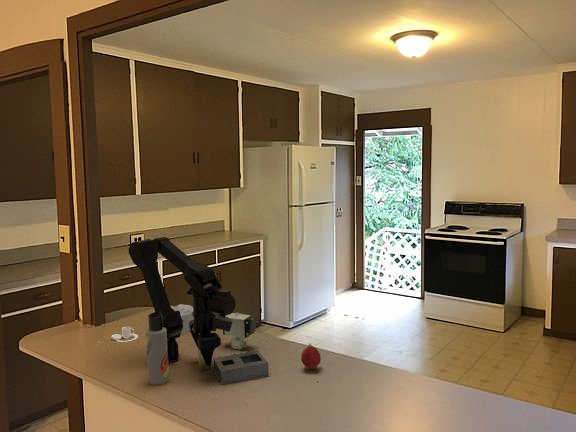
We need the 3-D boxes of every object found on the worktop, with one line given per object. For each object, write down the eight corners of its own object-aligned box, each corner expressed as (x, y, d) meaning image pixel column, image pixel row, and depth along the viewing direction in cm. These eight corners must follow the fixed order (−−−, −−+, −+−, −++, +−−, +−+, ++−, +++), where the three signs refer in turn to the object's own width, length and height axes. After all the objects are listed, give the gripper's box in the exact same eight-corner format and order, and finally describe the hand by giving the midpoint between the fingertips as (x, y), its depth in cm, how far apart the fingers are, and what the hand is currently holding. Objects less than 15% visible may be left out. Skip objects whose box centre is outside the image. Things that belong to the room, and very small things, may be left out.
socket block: (221, 384, 138) (220, 371, 138) (213, 370, 148) (213, 358, 147) (268, 375, 143) (268, 362, 143) (258, 362, 153) (257, 350, 152)
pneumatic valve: (250, 352, 161) (249, 316, 159) (220, 347, 166) (218, 313, 164) (258, 346, 166) (257, 311, 164) (228, 341, 171) (227, 308, 169)
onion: (323, 367, 148) (323, 341, 147) (316, 375, 143) (316, 348, 142) (305, 364, 151) (305, 339, 150) (298, 371, 146) (297, 345, 145)
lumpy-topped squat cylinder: (200, 325, 188) (199, 303, 187) (180, 337, 176) (179, 314, 175) (178, 322, 192) (176, 301, 191) (157, 334, 180) (155, 311, 179)
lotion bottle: (172, 377, 144) (169, 311, 141) (161, 386, 138) (157, 317, 136) (156, 375, 146) (152, 309, 143) (144, 383, 140) (140, 315, 138)
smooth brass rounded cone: (200, 373, 146) (199, 344, 145) (197, 368, 150) (196, 339, 149) (213, 370, 148) (212, 342, 147) (210, 365, 151) (209, 337, 150)
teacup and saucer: (108, 342, 174) (107, 331, 174) (120, 334, 182) (120, 323, 181) (130, 343, 172) (130, 332, 172) (142, 335, 180) (141, 324, 180)
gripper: (237, 315, 141) (239, 367, 143) (222, 298, 158) (224, 344, 160) (198, 320, 137) (201, 374, 139) (187, 302, 154) (189, 350, 156)
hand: (205, 359), depth 148 cm, fingers open, 9 cm apart
